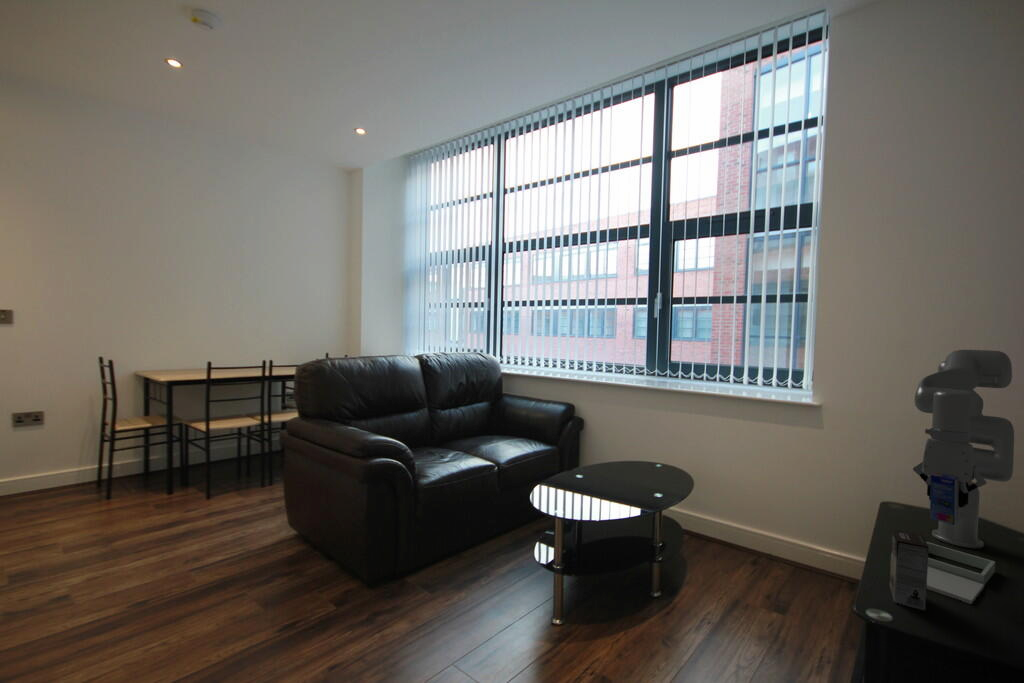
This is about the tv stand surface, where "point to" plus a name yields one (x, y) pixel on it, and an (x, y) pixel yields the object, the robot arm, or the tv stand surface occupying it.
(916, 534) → the coffee box
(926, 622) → the tv stand surface
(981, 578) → the frame
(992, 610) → the tv stand surface
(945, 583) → the tile
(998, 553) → the tv stand surface
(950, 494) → the ink cartridge box
